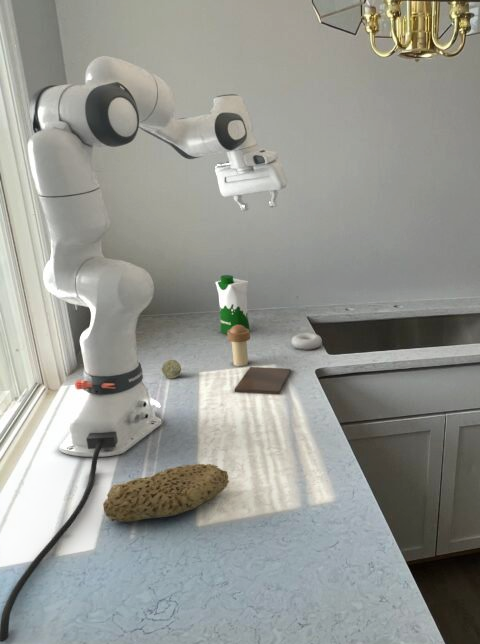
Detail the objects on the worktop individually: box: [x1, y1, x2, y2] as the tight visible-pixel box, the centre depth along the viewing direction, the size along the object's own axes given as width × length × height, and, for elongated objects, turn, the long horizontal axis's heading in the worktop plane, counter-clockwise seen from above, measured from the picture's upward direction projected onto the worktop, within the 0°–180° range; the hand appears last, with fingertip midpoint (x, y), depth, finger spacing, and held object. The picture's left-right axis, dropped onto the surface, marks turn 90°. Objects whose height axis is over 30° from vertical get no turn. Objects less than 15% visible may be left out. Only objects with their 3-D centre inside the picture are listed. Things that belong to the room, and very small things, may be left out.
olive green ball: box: [161, 359, 182, 379], centre depth 156 cm, size 4×5×5 cm
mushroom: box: [226, 325, 251, 367], centre depth 165 cm, size 6×6×12 cm
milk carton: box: [214, 274, 251, 335], centre depth 191 cm, size 9×9×20 cm
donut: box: [291, 332, 323, 351], centre depth 183 cm, size 10×4×10 cm
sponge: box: [102, 463, 230, 523], centre depth 101 cm, size 13×8×20 cm
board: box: [234, 366, 292, 395], centre depth 156 cm, size 16×12×1 cm
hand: (259, 208), depth 160 cm, fingers open, 8 cm apart
